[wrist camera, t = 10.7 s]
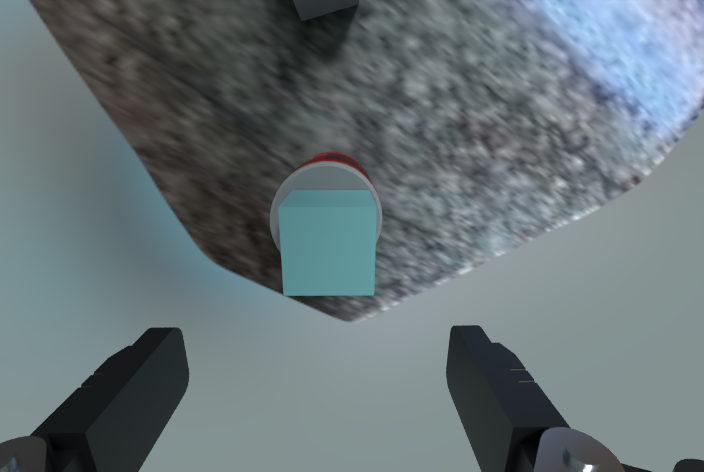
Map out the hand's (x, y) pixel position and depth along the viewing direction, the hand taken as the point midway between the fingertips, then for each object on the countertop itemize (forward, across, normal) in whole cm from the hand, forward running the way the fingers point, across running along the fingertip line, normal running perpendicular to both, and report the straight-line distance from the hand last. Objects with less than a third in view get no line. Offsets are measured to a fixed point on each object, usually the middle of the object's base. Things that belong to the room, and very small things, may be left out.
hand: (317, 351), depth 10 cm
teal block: (+13, 0, 0) cm, 13 cm away
